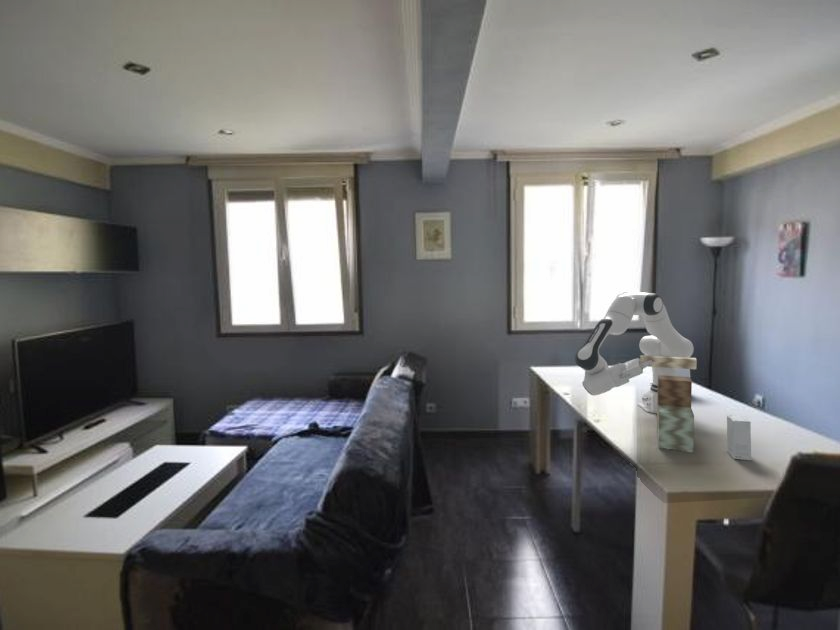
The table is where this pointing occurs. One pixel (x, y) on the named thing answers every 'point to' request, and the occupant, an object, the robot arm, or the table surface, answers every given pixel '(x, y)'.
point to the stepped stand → (675, 413)
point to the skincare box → (739, 437)
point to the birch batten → (670, 362)
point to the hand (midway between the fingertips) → (651, 360)
